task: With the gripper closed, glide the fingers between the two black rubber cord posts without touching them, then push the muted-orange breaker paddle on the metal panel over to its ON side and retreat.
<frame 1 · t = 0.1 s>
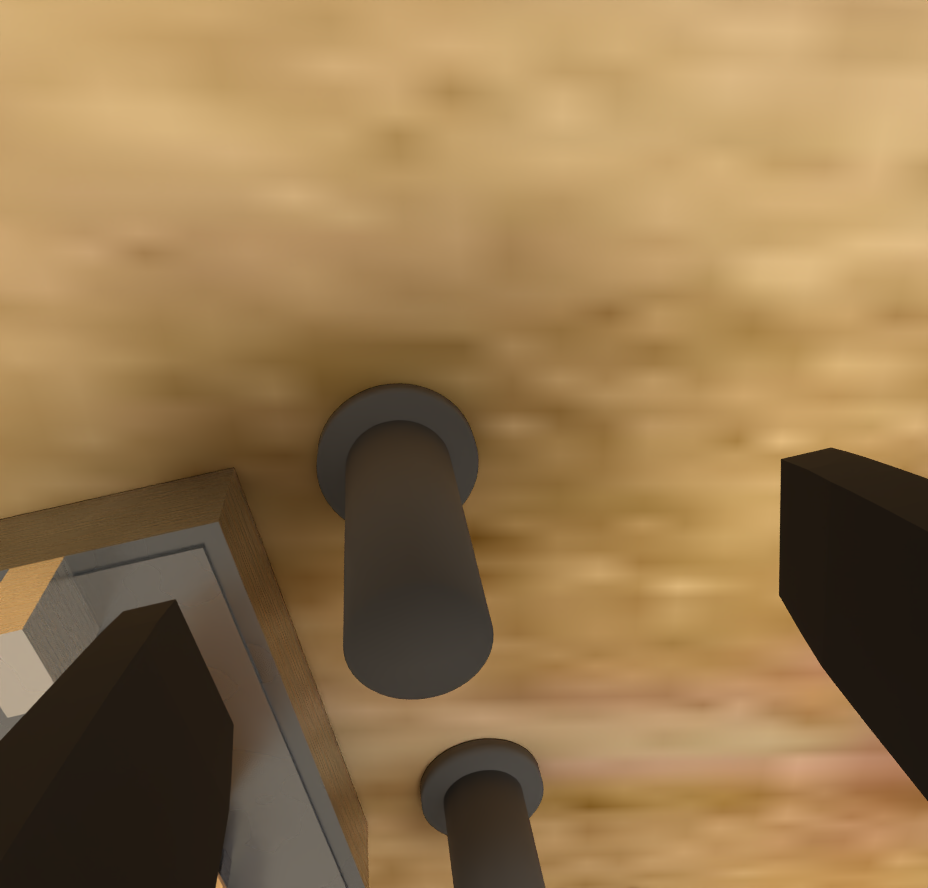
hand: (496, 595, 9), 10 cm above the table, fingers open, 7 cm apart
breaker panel: (174, 703, 22), on the table
cord post 1: (397, 456, 19), on the table
paddle: (173, 851, 18), point 5 cm above the table, hinge at 30.0°
cord post 2: (480, 782, 25), on the table
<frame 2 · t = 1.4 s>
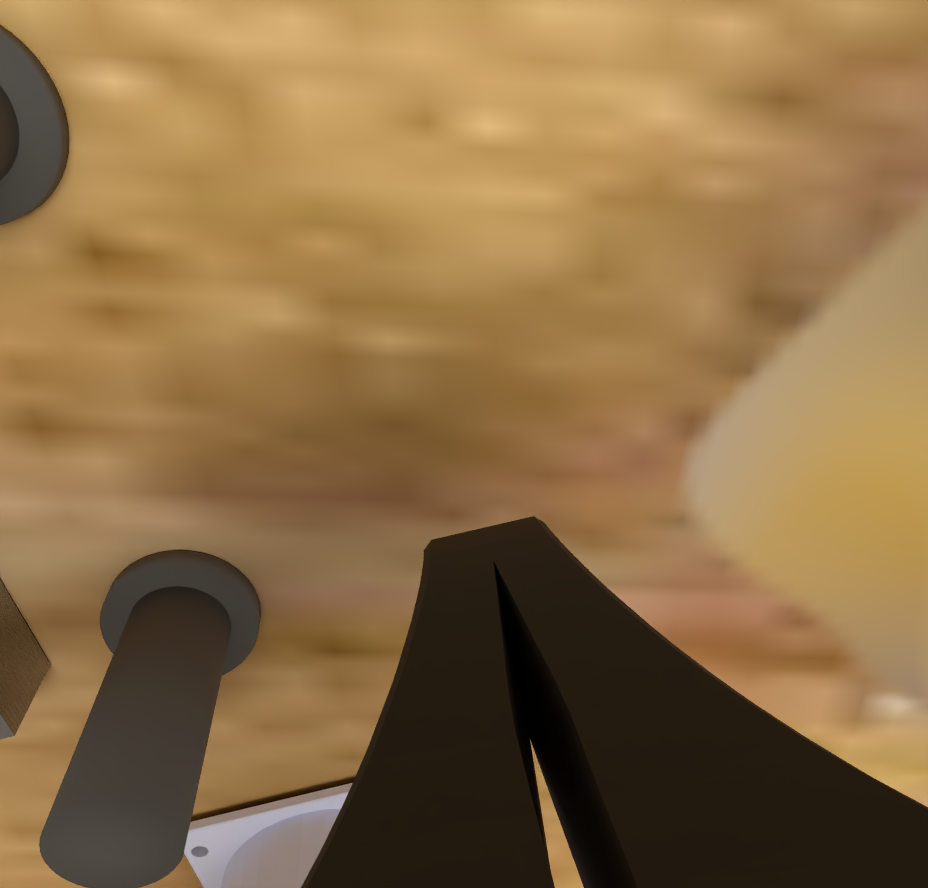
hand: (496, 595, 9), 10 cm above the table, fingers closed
cord post 2: (184, 611, 21), on the table
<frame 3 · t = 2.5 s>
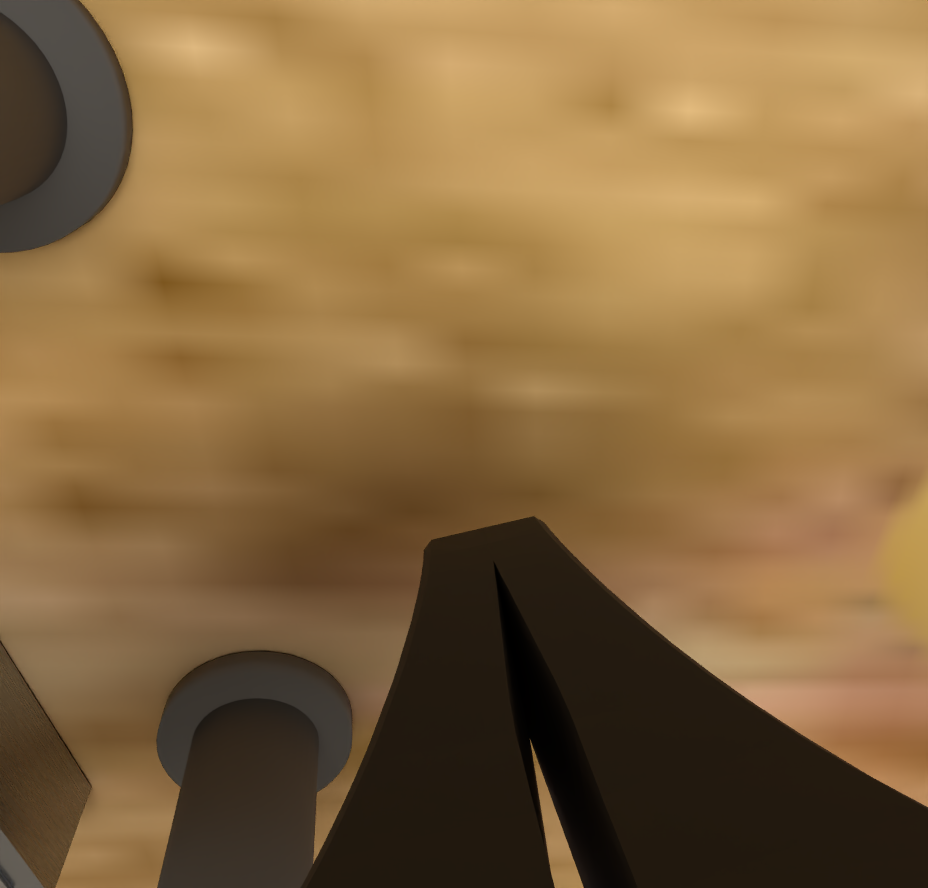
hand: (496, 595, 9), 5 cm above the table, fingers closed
cord post 2: (259, 722, 17), on the table
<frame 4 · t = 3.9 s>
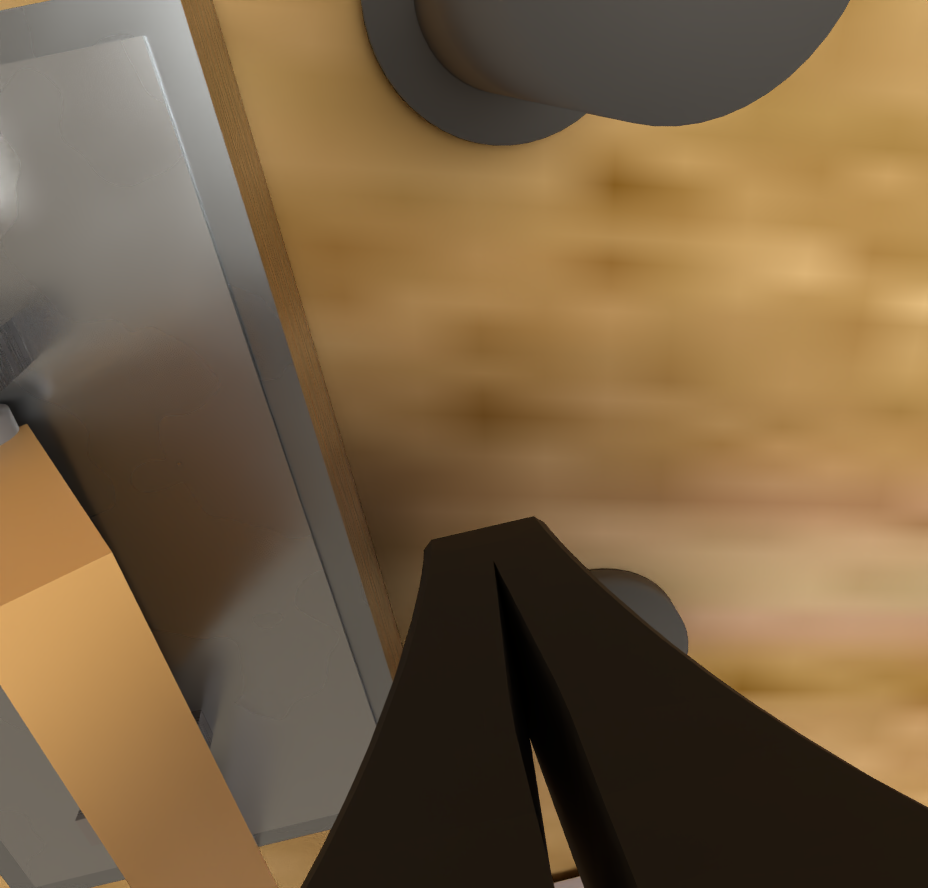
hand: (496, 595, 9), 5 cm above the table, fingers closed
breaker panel: (122, 484, 14), on the table
paddle: (93, 662, 9), point 5 cm above the table, hinge at 30.0°
cord post 2: (590, 643, 17), on the table
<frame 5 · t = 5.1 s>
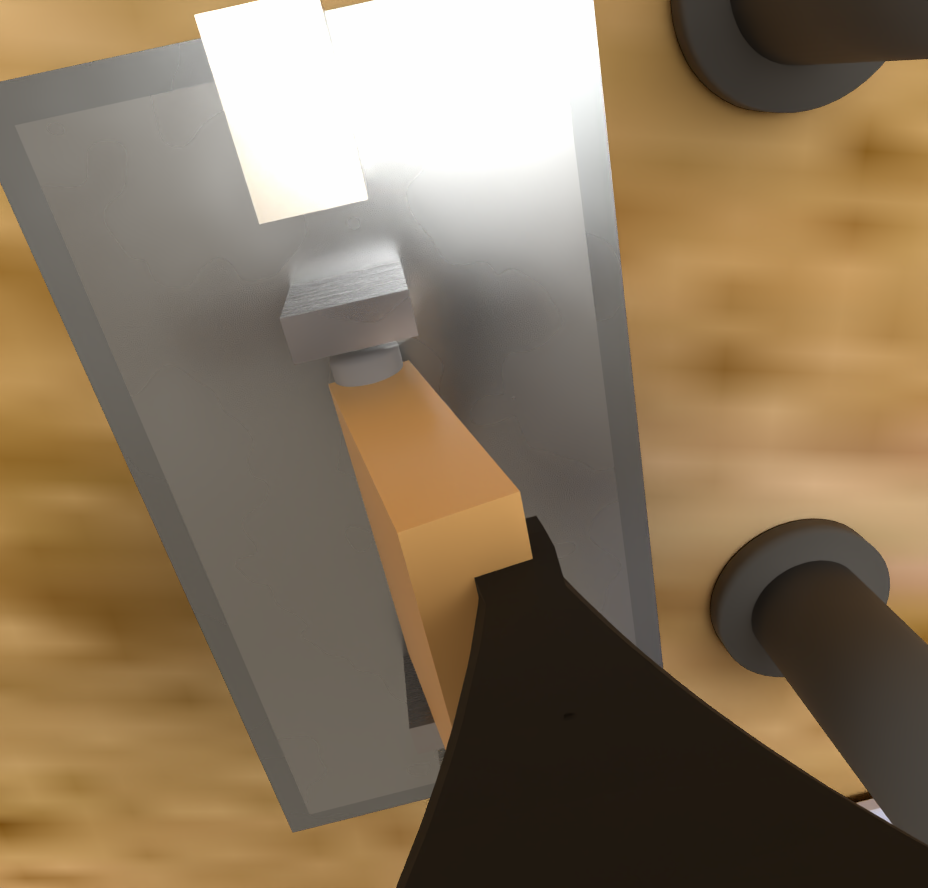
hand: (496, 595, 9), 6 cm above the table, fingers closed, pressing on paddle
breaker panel: (397, 434, 15), on the table
paddle: (442, 585, 10), point 5 cm above the table, hinge at 9.9°, touching gripper
cord post 2: (792, 592, 18), on the table
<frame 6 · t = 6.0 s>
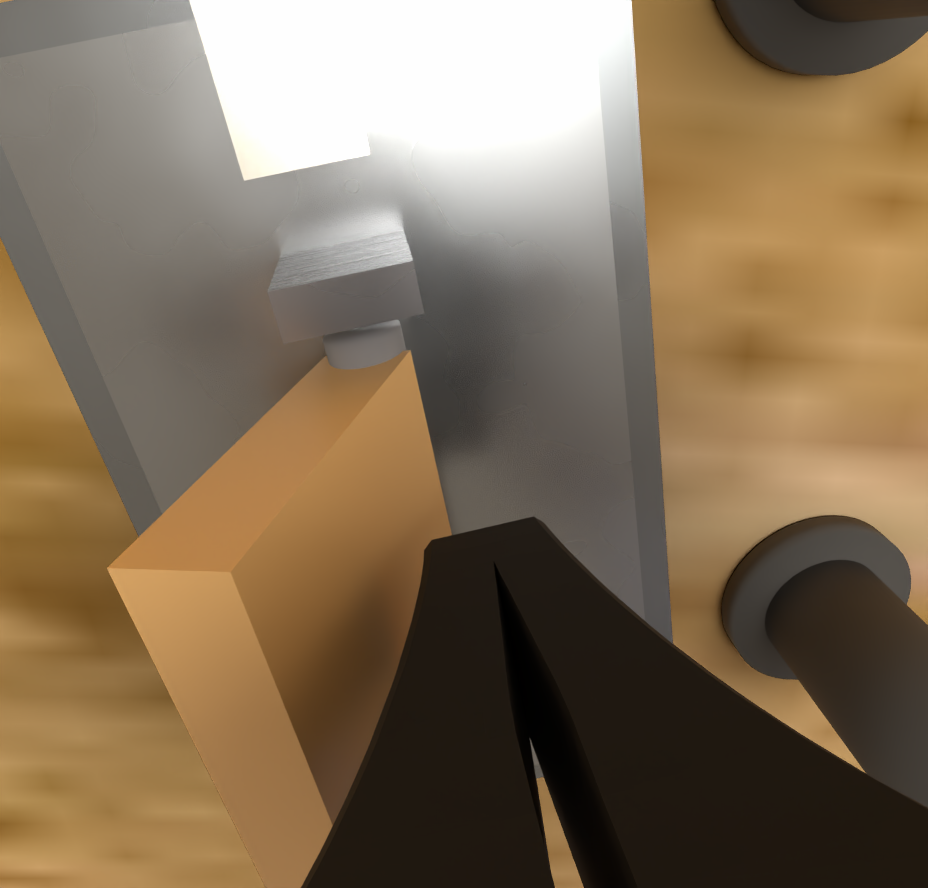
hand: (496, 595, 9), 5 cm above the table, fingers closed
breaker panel: (396, 420, 14), on the table
paddle: (356, 604, 9), point 5 cm above the table, hinge at -23.0°
cord post 2: (807, 592, 17), on the table
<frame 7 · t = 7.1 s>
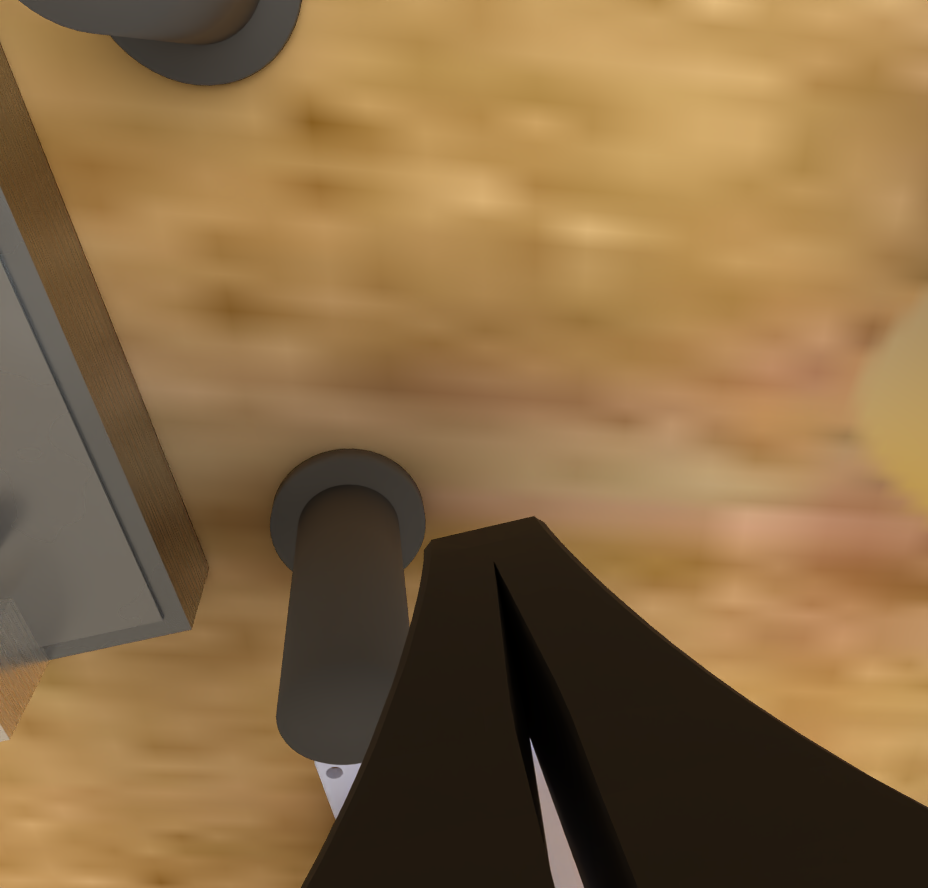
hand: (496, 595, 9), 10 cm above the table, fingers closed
cord post 2: (349, 515, 20), on the table
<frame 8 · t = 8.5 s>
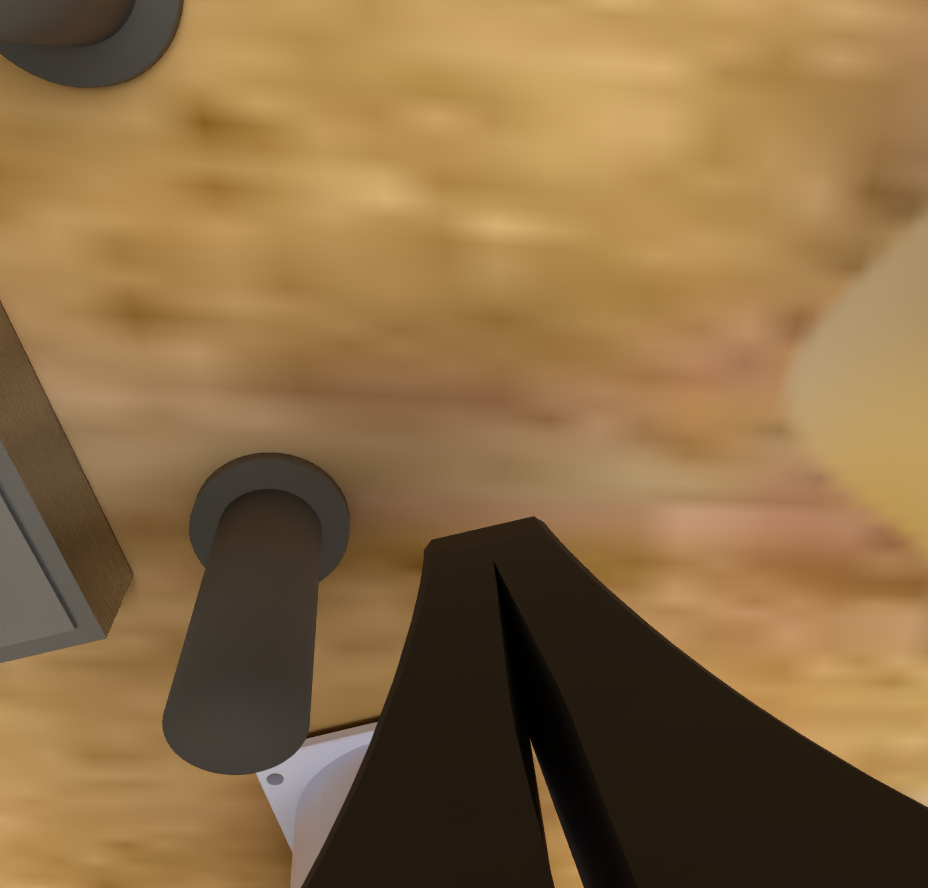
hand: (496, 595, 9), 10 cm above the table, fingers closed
cord post 2: (272, 520, 20), on the table
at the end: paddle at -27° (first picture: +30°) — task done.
